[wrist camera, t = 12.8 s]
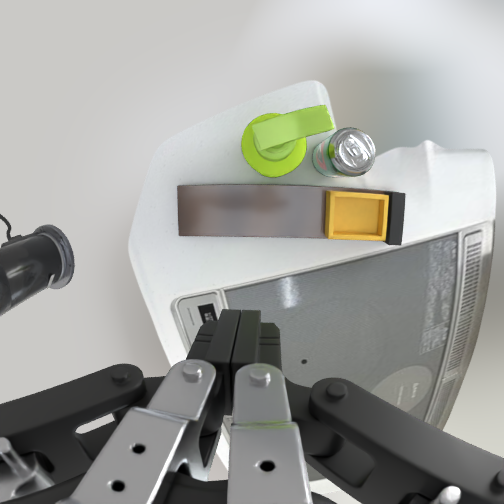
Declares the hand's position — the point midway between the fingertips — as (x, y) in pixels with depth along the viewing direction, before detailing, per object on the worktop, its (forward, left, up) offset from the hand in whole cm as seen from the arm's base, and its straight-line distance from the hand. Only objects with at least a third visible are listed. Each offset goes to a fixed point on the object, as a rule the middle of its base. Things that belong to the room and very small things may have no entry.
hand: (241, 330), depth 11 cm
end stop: (+15, +11, -28) cm, 33 cm away
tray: (+10, +8, -27) cm, 30 cm away
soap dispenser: (-3, +9, -29) cm, 31 cm away
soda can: (+4, +13, -29) cm, 32 cm away
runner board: (+3, +3, -29) cm, 29 cm away
